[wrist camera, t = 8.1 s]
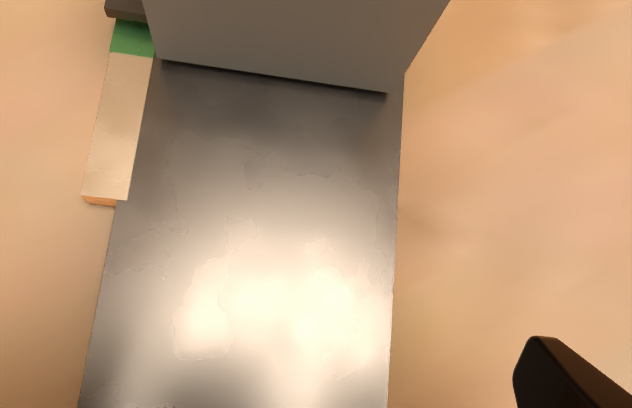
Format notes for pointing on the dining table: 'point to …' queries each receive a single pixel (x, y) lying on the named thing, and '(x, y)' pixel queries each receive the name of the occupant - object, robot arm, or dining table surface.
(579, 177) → the dining table surface
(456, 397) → the dining table surface
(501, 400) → the dining table surface
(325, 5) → the gauge carriage
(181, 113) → the base
